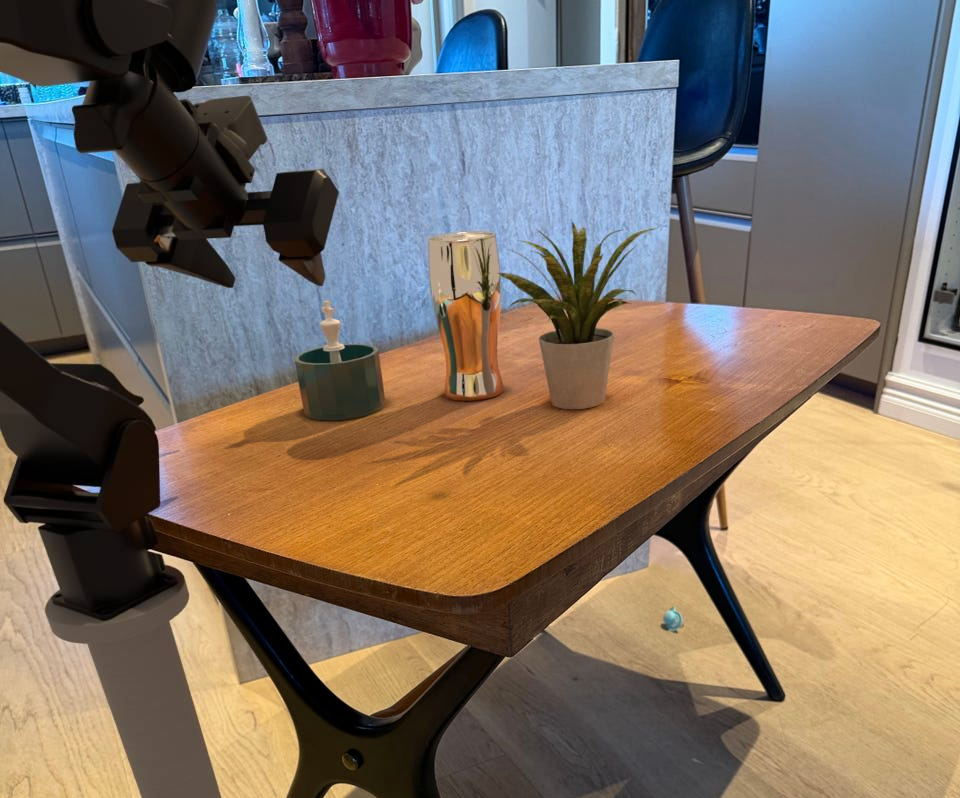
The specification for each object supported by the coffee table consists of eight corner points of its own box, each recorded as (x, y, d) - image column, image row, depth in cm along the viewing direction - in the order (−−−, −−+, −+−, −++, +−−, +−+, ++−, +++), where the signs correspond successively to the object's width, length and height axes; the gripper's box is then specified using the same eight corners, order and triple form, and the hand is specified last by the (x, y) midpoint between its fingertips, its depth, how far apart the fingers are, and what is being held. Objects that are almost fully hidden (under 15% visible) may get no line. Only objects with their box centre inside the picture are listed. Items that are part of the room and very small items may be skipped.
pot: (349, 424, 86) (340, 367, 84) (287, 416, 91) (276, 361, 88) (401, 400, 92) (394, 346, 89) (341, 393, 96) (333, 341, 94)
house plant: (614, 371, 96) (614, 202, 87) (688, 400, 84) (695, 210, 76) (492, 395, 91) (479, 220, 83) (552, 429, 80) (545, 231, 72)
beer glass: (433, 390, 95) (417, 236, 87) (495, 380, 96) (485, 228, 89) (451, 406, 89) (435, 243, 81) (517, 395, 90) (507, 234, 83)
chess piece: (334, 414, 88) (317, 308, 83) (309, 405, 91) (291, 303, 86) (375, 402, 91) (361, 298, 85) (350, 394, 94) (335, 294, 89)
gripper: (303, 39, 62) (392, 197, 77) (93, 66, 69) (211, 208, 83) (265, 176, 60) (363, 312, 74) (52, 191, 66) (180, 314, 81)
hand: (276, 282), depth 78 cm, fingers open, 9 cm apart
